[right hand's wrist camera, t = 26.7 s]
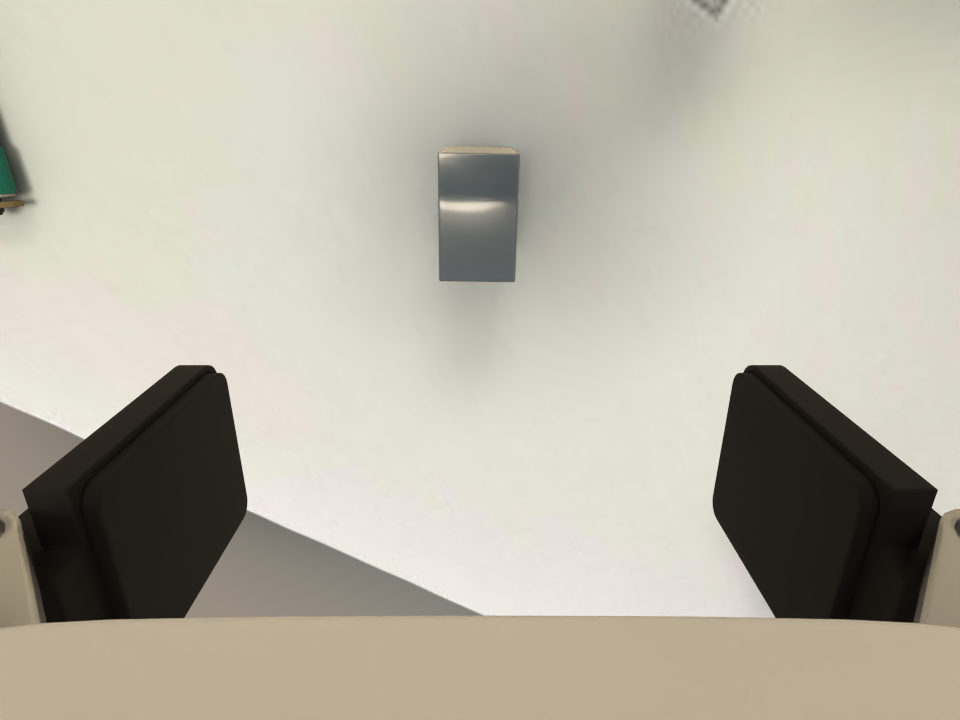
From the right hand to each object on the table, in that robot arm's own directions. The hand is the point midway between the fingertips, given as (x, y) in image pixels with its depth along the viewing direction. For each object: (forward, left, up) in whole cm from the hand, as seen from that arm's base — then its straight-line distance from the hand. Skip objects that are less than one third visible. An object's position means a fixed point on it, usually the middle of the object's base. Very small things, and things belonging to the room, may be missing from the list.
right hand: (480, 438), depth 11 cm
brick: (0, 0, -38) cm, 38 cm away
